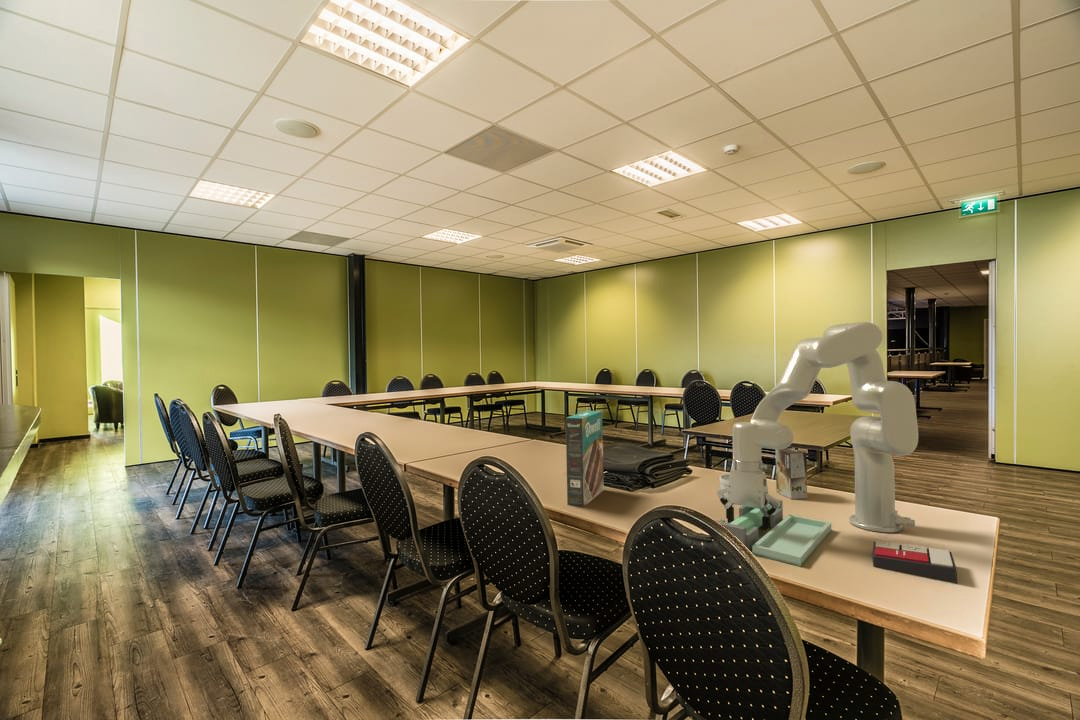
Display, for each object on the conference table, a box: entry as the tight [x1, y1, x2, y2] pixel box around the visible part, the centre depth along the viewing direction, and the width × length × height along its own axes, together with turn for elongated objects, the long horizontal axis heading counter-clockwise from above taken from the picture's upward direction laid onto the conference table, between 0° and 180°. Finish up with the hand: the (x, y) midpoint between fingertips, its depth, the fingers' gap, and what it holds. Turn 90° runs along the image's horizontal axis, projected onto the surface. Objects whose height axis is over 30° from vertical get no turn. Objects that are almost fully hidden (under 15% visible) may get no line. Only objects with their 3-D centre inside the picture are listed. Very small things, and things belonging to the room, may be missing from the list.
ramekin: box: [719, 473, 730, 500], centre depth 168 cm, size 13×13×7 cm
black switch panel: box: [871, 539, 958, 585], centre depth 112 cm, size 11×4×15 cm
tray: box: [751, 514, 832, 568], centre depth 128 cm, size 11×31×2 cm, turn 137°
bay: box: [715, 498, 784, 551], centre depth 136 cm, size 10×32×6 cm, turn 137°
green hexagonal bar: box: [729, 504, 772, 533], centre depth 136 cm, size 6×6×25 cm
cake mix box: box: [565, 410, 605, 508], centre depth 172 cm, size 22×6×30 cm, turn 155°
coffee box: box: [774, 447, 808, 500], centre depth 169 cm, size 9×6×16 cm
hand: (747, 525), depth 136 cm, fingers open, 9 cm apart
